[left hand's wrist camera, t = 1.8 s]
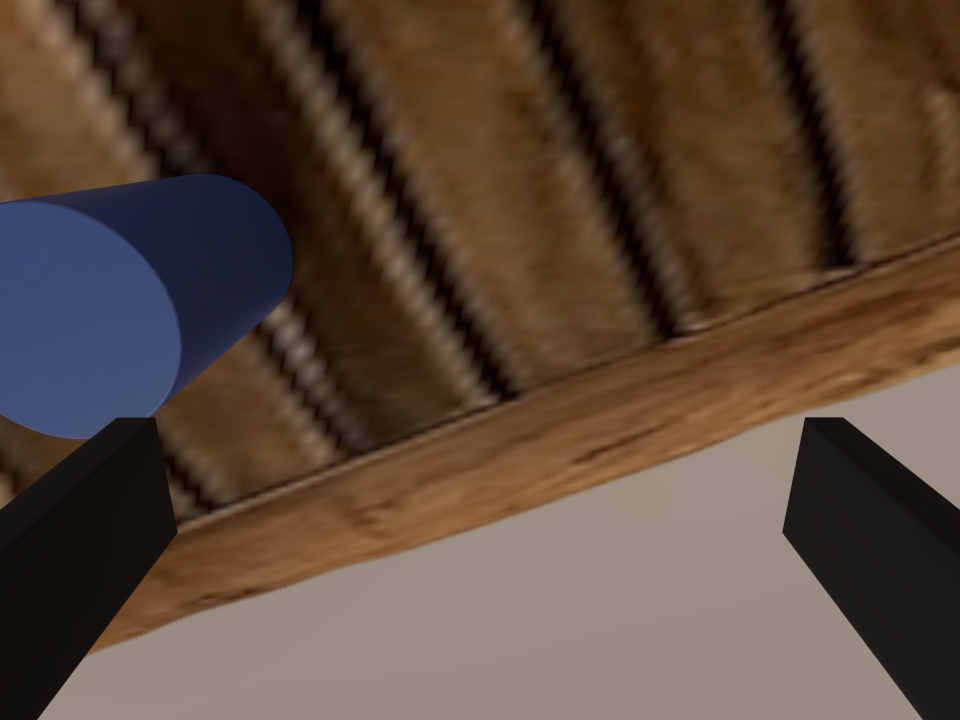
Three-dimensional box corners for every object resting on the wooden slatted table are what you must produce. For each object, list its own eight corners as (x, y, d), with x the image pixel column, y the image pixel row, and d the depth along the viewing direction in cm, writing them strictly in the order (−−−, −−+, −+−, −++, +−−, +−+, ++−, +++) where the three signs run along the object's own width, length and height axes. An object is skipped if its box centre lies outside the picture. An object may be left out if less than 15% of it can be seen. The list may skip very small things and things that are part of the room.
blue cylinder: (212, 356, 30) (63, 480, 19) (103, 234, 28) (-129, 298, 17) (325, 273, 29) (233, 357, 18) (219, 139, 27) (44, 144, 16)
